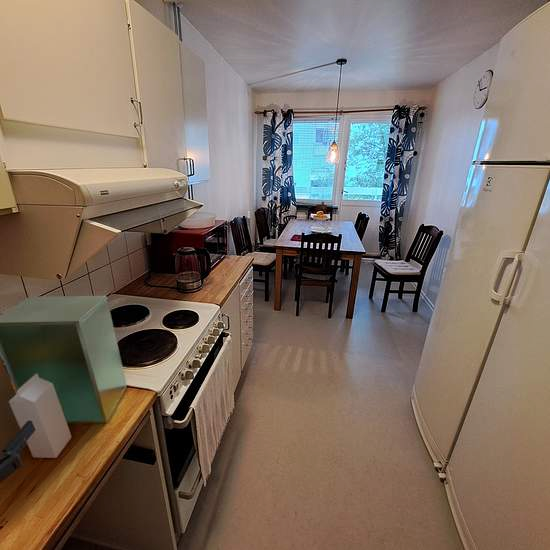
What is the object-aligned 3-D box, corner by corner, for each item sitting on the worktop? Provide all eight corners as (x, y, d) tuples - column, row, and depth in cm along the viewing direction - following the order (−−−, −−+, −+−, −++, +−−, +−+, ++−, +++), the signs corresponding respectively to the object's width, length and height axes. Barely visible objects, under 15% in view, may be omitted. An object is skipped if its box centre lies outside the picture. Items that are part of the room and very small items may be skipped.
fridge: (107, 422, 82) (78, 320, 70) (30, 425, 81) (-13, 322, 68) (127, 386, 95) (106, 295, 82) (61, 389, 94) (30, 296, 81)
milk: (33, 457, 72) (2, 391, 64) (50, 436, 78) (24, 372, 70) (57, 458, 72) (29, 391, 64) (72, 436, 78) (49, 372, 70)
